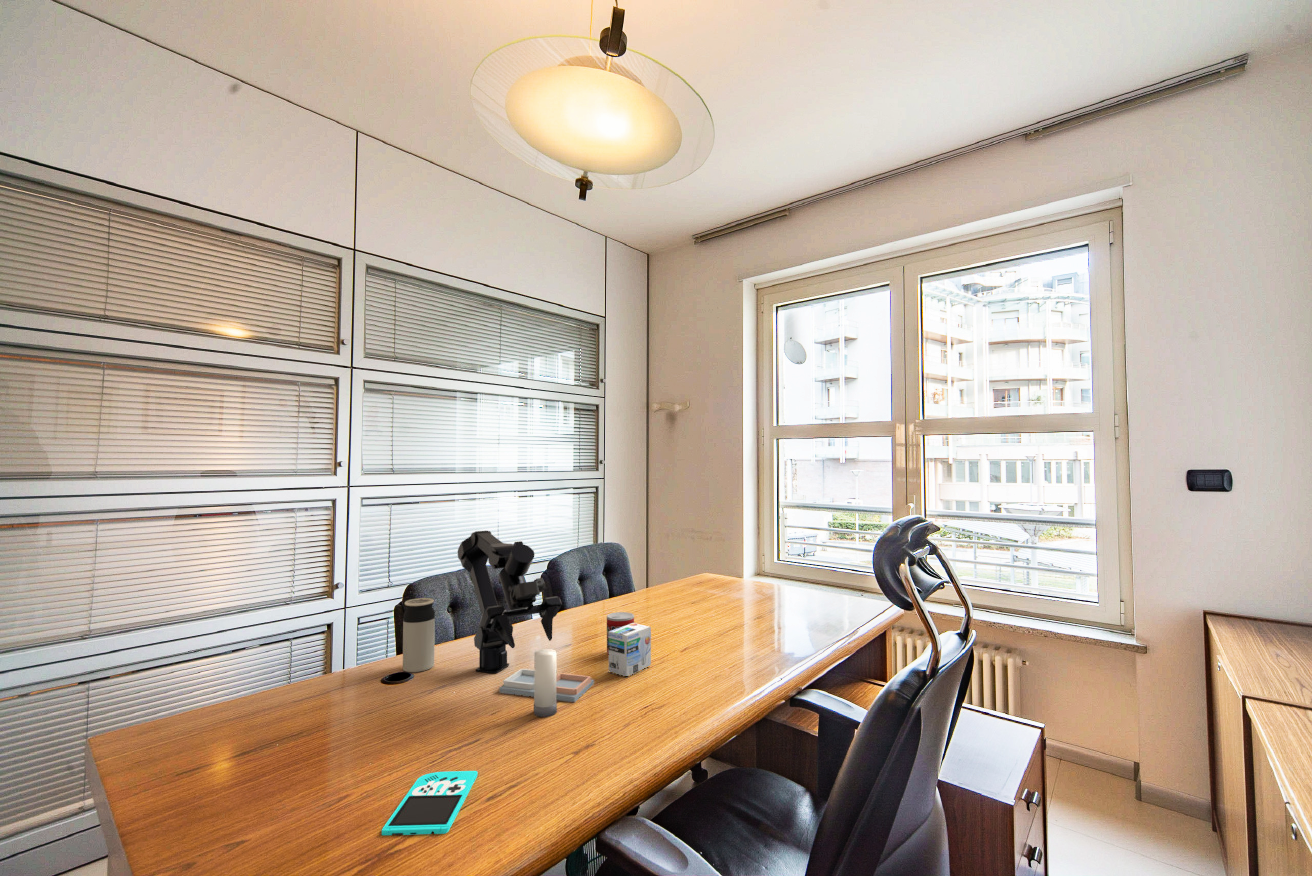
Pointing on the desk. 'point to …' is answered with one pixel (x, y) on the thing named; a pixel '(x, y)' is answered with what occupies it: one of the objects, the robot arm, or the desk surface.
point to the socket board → (566, 685)
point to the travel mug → (418, 635)
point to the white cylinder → (545, 683)
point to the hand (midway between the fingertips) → (532, 643)
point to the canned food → (617, 622)
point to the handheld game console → (431, 804)
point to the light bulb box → (629, 649)
